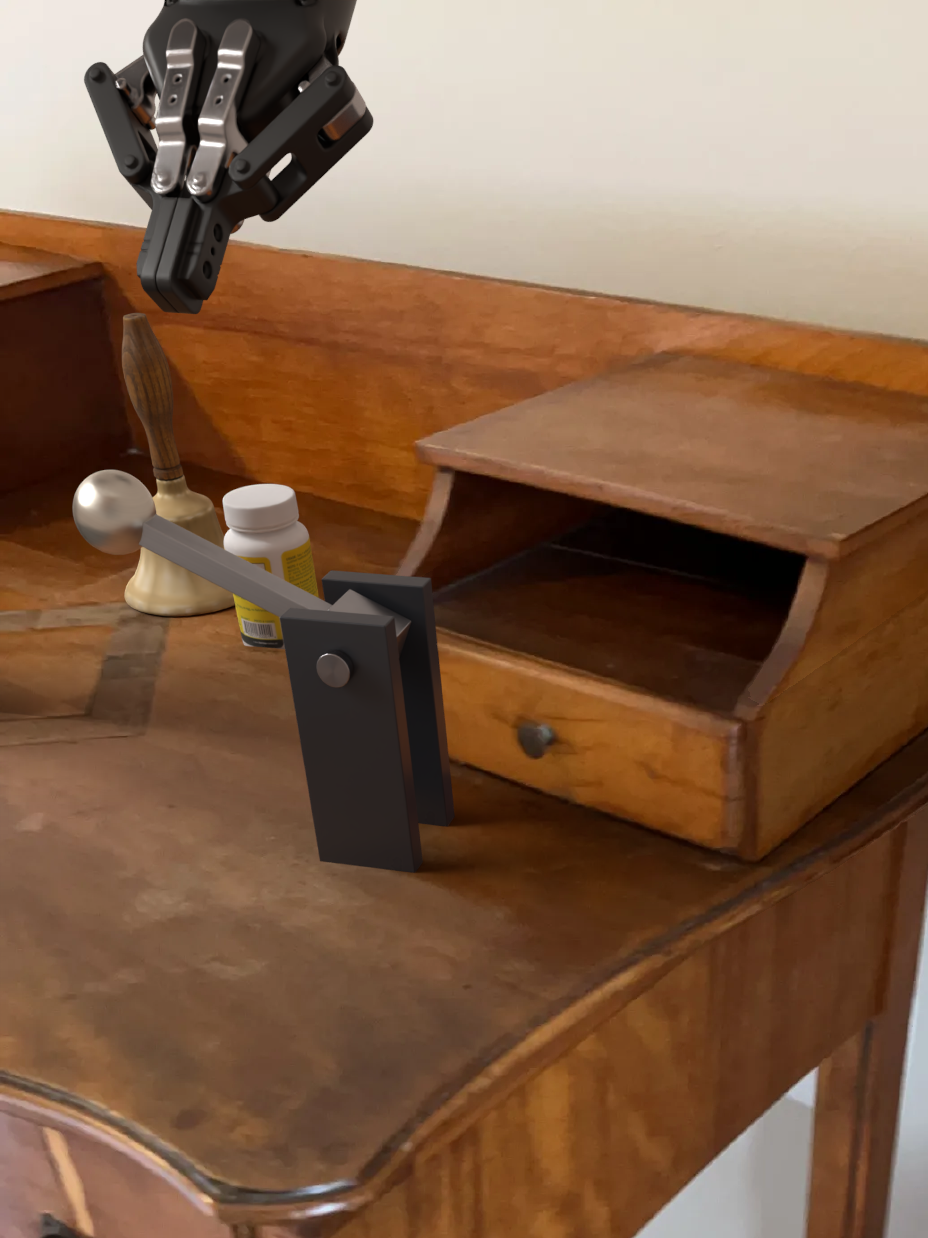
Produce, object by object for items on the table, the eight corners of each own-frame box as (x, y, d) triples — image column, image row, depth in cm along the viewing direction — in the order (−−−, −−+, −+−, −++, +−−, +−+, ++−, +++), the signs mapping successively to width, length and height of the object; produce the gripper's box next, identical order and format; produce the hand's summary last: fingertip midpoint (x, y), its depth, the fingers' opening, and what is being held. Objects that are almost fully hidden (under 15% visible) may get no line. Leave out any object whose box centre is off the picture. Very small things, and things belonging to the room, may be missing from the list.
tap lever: (51, 543, 61) (62, 469, 59) (93, 516, 63) (105, 444, 61) (368, 705, 61) (390, 639, 59) (397, 672, 64) (419, 607, 62)
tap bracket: (273, 912, 66) (218, 628, 58) (345, 822, 72) (305, 553, 64) (447, 935, 64) (415, 645, 56) (506, 841, 70) (485, 567, 62)
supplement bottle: (317, 620, 91) (295, 476, 86) (331, 650, 88) (309, 502, 83) (237, 632, 90) (210, 487, 85) (248, 663, 87) (220, 514, 82)
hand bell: (247, 614, 92) (195, 329, 82) (110, 619, 92) (43, 334, 83) (269, 564, 99) (224, 294, 89) (142, 568, 99) (82, 299, 89)
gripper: (94, -171, 61) (-26, 233, 60) (386, -184, 57) (263, 249, 56) (195, -18, 68) (90, 345, 67) (462, -20, 64) (354, 367, 63)
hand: (169, 301), depth 61 cm, fingers closed
